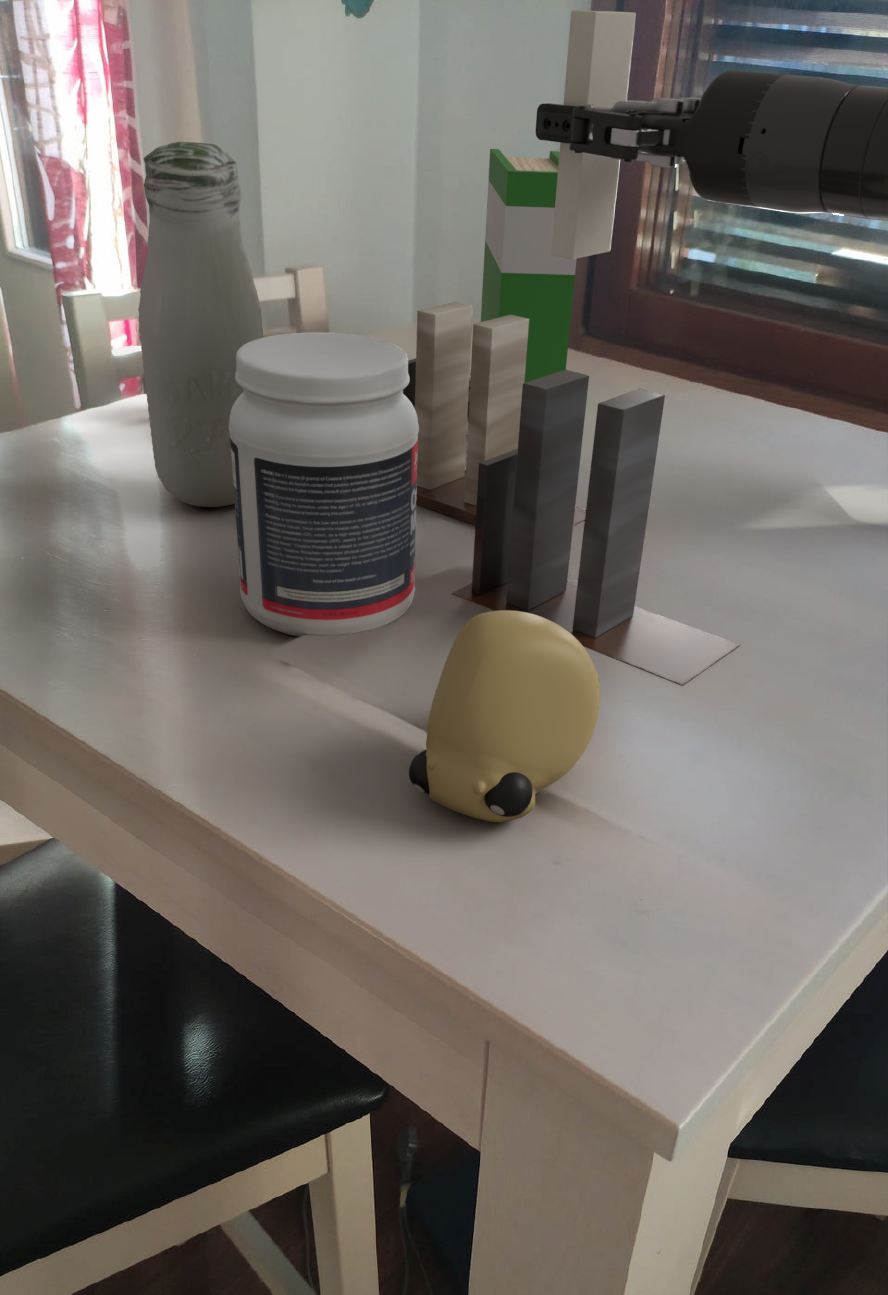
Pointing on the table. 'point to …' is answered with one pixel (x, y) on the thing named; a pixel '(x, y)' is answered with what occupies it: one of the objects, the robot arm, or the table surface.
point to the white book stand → (465, 402)
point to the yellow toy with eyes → (506, 716)
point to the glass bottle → (194, 317)
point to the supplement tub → (324, 482)
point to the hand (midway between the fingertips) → (563, 119)
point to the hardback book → (527, 258)
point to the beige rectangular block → (587, 177)
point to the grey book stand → (541, 524)
